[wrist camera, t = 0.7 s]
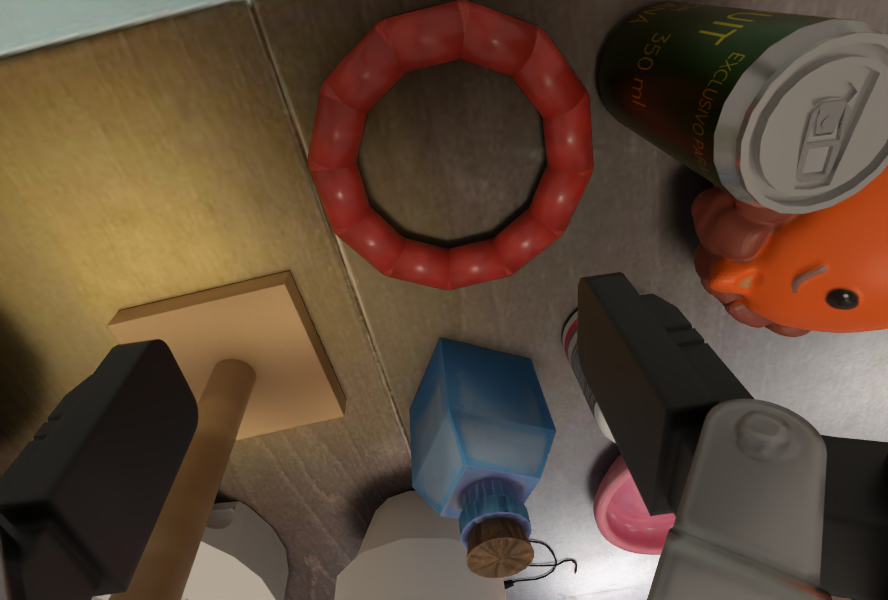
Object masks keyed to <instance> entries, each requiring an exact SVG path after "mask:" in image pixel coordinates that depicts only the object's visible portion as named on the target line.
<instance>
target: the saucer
mask: <svg viewBox="0 0 888 600" xmlns="http://www.w3.org/2000/svg"><path fill="white" fill-rule="evenodd" d="M593 509H594V516H595V520H596V523H597V526H598V528H599V530H600V532H601V534H602V535H603V536H604V537H605V538H606V539H607V540H608V541H609V542H610V543H612V544H613V545H615V546H617V547H619V548H621V549H623V550H626V551H630V552H634V553H639V554H650V555H660V554H661V553H662V549H663V546H664V543H665V540H666V537H667V534H668V532H669V529H670V528H672V527H673V525H674V521H675V518H676V517H675V515H674V513H669V514H663V515H656V516H650V514H649V512H648V510H647V508H646V506H645V504H644V501H643V499H642V497H641V495H640V493H639V491H638V489H637V487H636V484H635V482H634V480H633V478H632V476H631V474H630V472H629V470H628V468H627V465H626V463H625V461H624V459H623V457H622V455H621V454H620V455H619V456H618V457H617V458H616V459H615V460H614V462H613V463H612V465H611V466H610V468H609V470H608V472H607V473H606V475H605V476H604V478H603V479H602V481H601V483H600V486H599V489H598V491H597V493H596V496H595V499H594V506H593Z"/></svg>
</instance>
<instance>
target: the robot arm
mask: <svg viewBox="0 0 888 600" xmlns="http://www.w3.org/2000/svg"><path fill="white" fill-rule="evenodd" d="M577 349H578V356H579V361H580V365H581V369H582V372H583V374H584V376H585V378H586V381H587V383H588V385H589V387H590V389H591V391H592V393H593V395H594V398H595V400H596V402H597V404H598V406H599V408H600V410H601V412H602V414H603V417H604V419H605V421H606V423H607V425H608V427H609V429H610V431H611V434H612V436H613V438H614V440H615V442H616V444H617V446H618V448H619V451H620V453H621V455H622V457H623V459H624V461H625V463H626V465H627V468H628V470H629V472H630V474H631V476H632V478H633V480H634V482H635V484H636V487H637V489H638V491H639V493H640V495H641V497H642V499H643V501H644V504H645V506H646V508H647V510H648V512H649V514H650V516H656V515H663V514H669V513H674V515H675V517H676V518H675V521H674V525H673V527H672V528H670V529H669V532H668V534H667V537H666V540H665V543H664V546H663V549H662V553H661V556H660V559H659V562H658V566H657V569H656V572H655V576H654V579H653V582H652V585H651V589H650V592H649V595H648V599H647V600H832V598H831V595H832V596H838V597H843V598H849V599H852V600H888V442H878V441H869V440H859V439H849V438H839V437H831V436H824V435H820V434H819V432H818V431H817V430H816V429H815V428H814V427H813V426H812V425H811V424H810V423H809V422H808V421H807V420H805V419H804V418H802V417H801V416H799V415H798V414H796V413H794V412H793V411H791V410H789V409H787V408H784V407H782V406H780V405H777V404H774V403H770V402H766V401H762V400H755V399H754V398H753V397H752V396H751V395H750V393H749V392H748V391H747V390H746V389H745V387H744V386H743V385H742V384H741V383H740V381H739V380H738V379H737V378H736V377H735V376H734V374H733V373H732V372H731V371H730V370H729V368H728V367H727V366H726V365H725V364H724V363H723V361H722V360H721V359H720V358H719V357H718V355H717V354H716V353H715V352H714V351H713V350H712V348H711V347H710V346H709V345H708V344H707V343H706V344H705V343H704V339H703V338H702V336H701V335H700V334H699V333H698V332H697V331H696V329H695V328H693V329H692V325H691V323H690V322H689V321H688V320H687V319H686V318H685V316H684V315H683V314H682V313H681V312H680V310H679V309H678V308H677V307H676V306H674V305H672V304H670V303H669V302H667V301H665V300H663V299H662V298H660V297H658V296H656V295H654V294H647V295H639V294H638V292H637V291H636V290H635V288H634V287H633V286H632V285H631V283H630V282H629V281H628V279H627V278H626V277H625V275H624V274H623V273H621V272H618V273H611V274H604V275H597V276H591V277H584V278H581V279H580V281H579V286H578V320H577ZM197 425H198V406H197V402H196V399H195V397H194V395H193V393H192V391H191V389H190V387H189V385H188V383H187V381H186V379H185V377H184V375H183V373H182V371H181V369H180V367H179V365H178V363H177V361H176V359H175V358H174V356H173V354H172V352H171V350H170V348H169V346H168V345H167V344H166V343H165V342H164V341H163V340H160V339H154V340H147V341H140V342H133V343H127V344H120V345H116V346H115V347H113V348H112V349H111V351H110V352H109V353H108V355H107V356H106V357H105V359H104V360H103V361H102V363H101V364H100V365H99V367H98V368H97V369H96V371H95V372H94V373H93V375H90V376H89V377H88V378H87V379H85V380H84V381H83V382H82V383H80V384H79V385H78V386H77V387H75V388H74V389H73V390H72V391H70V392H69V393H68V394H67V395H65V397H64V398H63V399H62V400H61V402H60V403H59V404H58V406H57V407H56V408H55V409H54V411H53V412H52V413H51V415H50V416H49V417H48V422H45V423H44V424H43V425H42V426H41V427H40V429H39V430H38V431H37V433H36V434H35V435H34V436H33V437H34V441H30V442H29V443H28V444H27V445H26V447H25V448H24V449H23V451H22V452H21V453H20V455H19V456H18V457H17V458H16V460H15V461H14V462H13V464H12V465H11V466H10V467H9V469H8V470H7V471H6V473H5V474H4V475H3V476H2V478H1V479H0V600H91V599H92V597H95V596H102V595H108V594H115V593H122V592H126V591H127V589H128V586H129V584H130V582H131V579H132V577H133V575H134V573H135V570H136V568H137V566H138V563H139V561H140V559H141V556H142V554H143V552H144V549H145V547H146V545H147V542H148V540H149V538H150V536H151V533H152V531H153V529H154V526H155V524H156V522H157V519H158V517H159V515H160V512H161V510H162V508H163V505H164V503H165V501H166V499H167V496H168V494H169V492H170V489H171V487H172V485H173V482H174V480H175V478H176V475H177V473H178V471H179V468H180V466H181V464H182V462H183V459H184V457H185V455H186V452H187V450H188V448H189V445H190V443H191V441H192V438H193V436H194V434H195V431H196V429H197Z"/></svg>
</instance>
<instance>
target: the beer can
mask: <svg viewBox="0 0 888 600" xmlns="http://www.w3.org/2000/svg"><path fill="white" fill-rule="evenodd" d="M599 87H600V95H601V97H602V100H603V102H604V104H605V106H606V109H607V110H608V111H609V112H610V113H611V114H612V115H613V116H614V117H615V118H616V119H617V120H618V121H619V122H620V123H622V124H623V125H625V126H626V127H628V128H629V129H631V130H632V131H634V132H635V133H637V134H638V135H640V136H641V137H643V138H644V139H646V140H648V141H649V142H651V143H652V144H654V145H655V146H657V147H658V148H660V149H661V150H663V151H664V152H666V153H667V154H669V155H670V156H672V157H673V158H675V159H676V160H678V161H679V162H681V163H682V164H684V165H685V166H687V167H688V168H690V169H691V170H693V171H695V172H696V173H698V174H699V175H701V176H702V177H704V178H705V179H707V180H708V181H710V182H711V183H713V184H714V185H716V186H717V187H719V188H720V189H722V190H723V191H725V192H726V193H728V194H729V195H731V196H732V197H734V198H735V199H737V200H740V201H742V202H745V203H747V204H750V205H752V206H754V207H757V208H769V209H772V210H774V211H777V212H779V213H792V214H806V213H810V212H813V211H817V210H821V209H825V208H829V207H831V206H833V205H835V204H837V203H839V202H841V201H843V200H845V199H847V198H848V197H850V196H852V195H854V194H856V193H857V192H859V191H860V190H861V189H862V188H864V187H865V186H866V185H867V184H868V183H870V182H871V181H872V180H873V179H875V178H876V177H877V176H878V175H879V174H881V173H882V171H883V170H884V169H885V168H886V166H887V165H888V35H886V34H883V33H882V32H880V31H878V30H876V29H874V28H873V27H871V26H869V25H867V24H866V23H864V22H862V21H856V20H846V19H836V18H826V17H817V16H807V15H797V14H787V13H777V12H767V11H757V10H748V9H738V8H728V7H718V6H708V5H698V4H688V3H677V2H661V3H658V4H654V5H651V6H647V7H644V8H643V9H641V10H640V11H638V12H637V13H635V14H634V15H632V16H631V17H629V18H628V19H626V21H625V22H624V23H623V24H622V25H621V26H620V28H619V29H618V30H617V31H616V32H615V33H614V34H613V36H612V37H611V39H610V41H609V43H608V45H607V47H606V49H605V52H604V54H603V56H602V61H601V66H600V71H599Z"/></svg>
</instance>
